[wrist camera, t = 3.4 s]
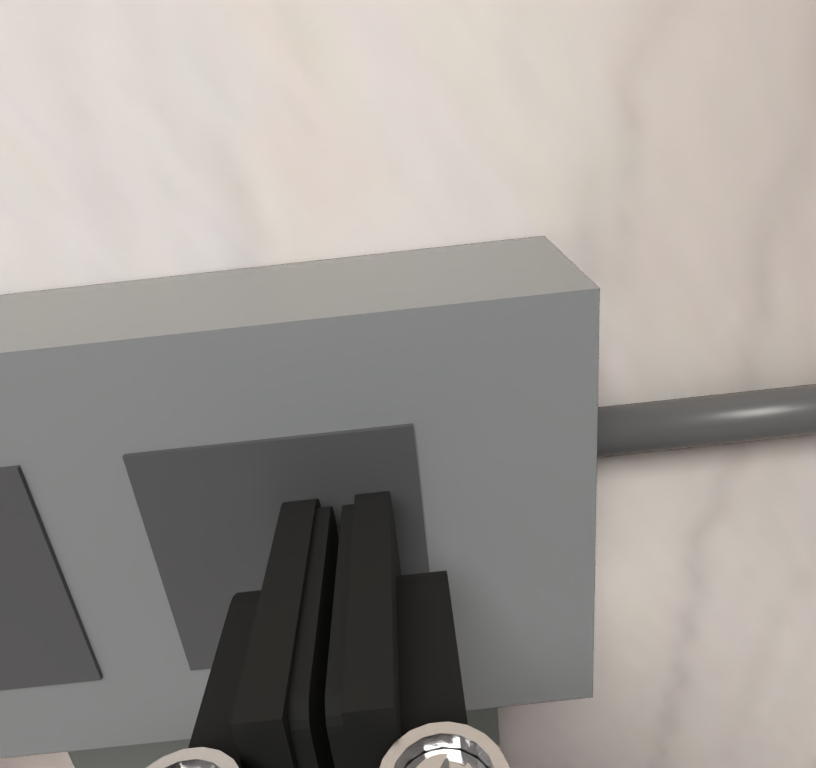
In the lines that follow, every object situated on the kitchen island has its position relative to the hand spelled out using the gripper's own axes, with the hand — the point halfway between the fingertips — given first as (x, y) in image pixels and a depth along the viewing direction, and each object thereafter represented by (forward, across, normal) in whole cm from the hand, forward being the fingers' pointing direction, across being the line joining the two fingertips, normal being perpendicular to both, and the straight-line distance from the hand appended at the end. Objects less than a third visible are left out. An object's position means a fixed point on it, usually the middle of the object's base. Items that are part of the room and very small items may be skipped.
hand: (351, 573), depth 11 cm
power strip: (+4, +2, 0) cm, 4 cm away
